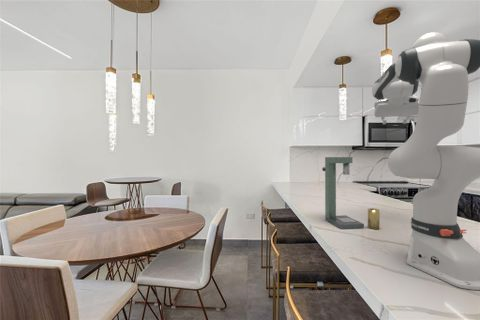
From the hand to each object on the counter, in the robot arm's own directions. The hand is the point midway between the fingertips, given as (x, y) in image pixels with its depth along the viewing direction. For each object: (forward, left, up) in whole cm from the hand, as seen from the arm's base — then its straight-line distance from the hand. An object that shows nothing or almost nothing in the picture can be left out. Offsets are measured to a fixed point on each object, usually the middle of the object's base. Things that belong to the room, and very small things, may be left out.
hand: (394, 123), depth 125 cm
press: (-2, +33, -53) cm, 63 cm away
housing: (-13, +22, -53) cm, 59 cm away
